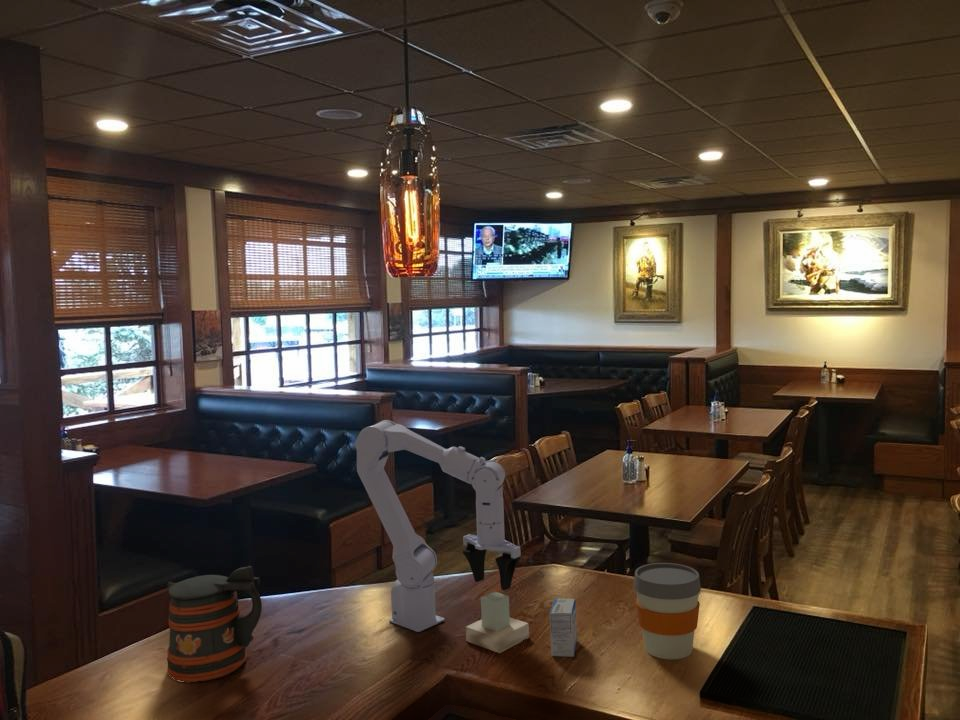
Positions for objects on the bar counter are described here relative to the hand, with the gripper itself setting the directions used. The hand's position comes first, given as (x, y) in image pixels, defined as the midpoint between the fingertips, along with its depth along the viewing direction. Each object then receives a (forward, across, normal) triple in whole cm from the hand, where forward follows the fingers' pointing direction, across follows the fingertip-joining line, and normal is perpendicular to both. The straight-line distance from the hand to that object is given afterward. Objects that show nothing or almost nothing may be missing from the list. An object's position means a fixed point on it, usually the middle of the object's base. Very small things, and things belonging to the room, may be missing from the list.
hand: (492, 584), depth 166 cm
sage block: (+6, +4, -4) cm, 9 cm away
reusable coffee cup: (+9, +33, +14) cm, 37 cm away
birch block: (+9, +4, -4) cm, 11 cm away
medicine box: (+10, +17, +2) cm, 20 cm away
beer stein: (+10, -30, -46) cm, 56 cm away
